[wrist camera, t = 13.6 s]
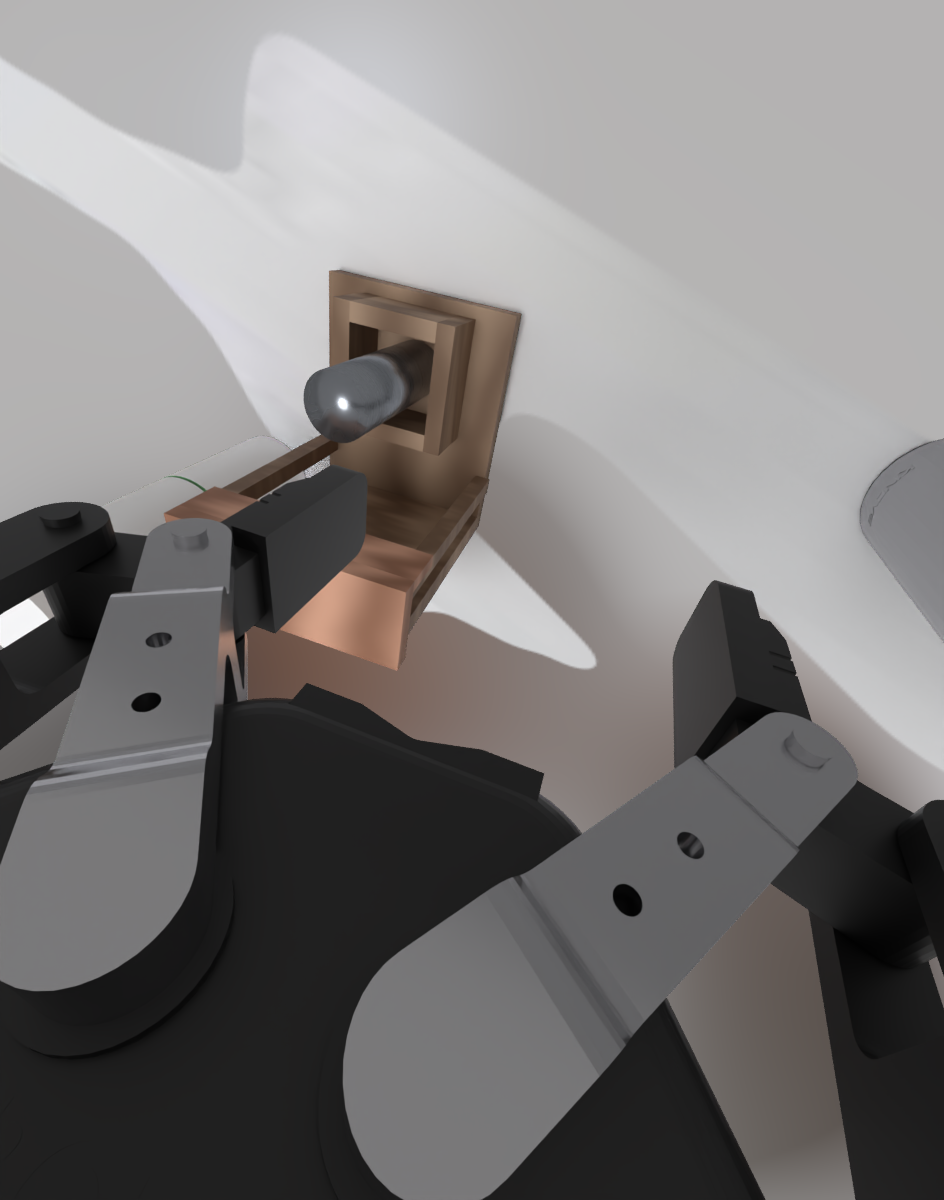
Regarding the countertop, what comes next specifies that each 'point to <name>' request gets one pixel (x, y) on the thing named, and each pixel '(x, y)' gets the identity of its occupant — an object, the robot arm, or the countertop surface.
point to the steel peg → (368, 390)
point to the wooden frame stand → (397, 462)
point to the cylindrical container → (157, 512)
